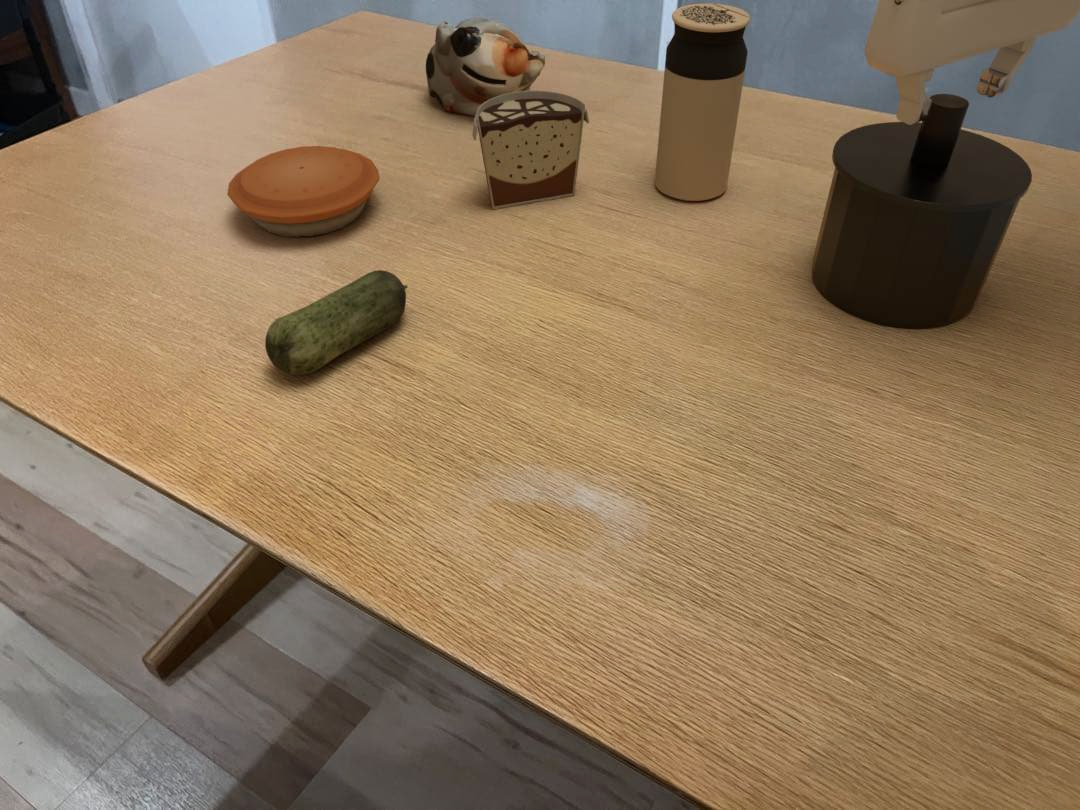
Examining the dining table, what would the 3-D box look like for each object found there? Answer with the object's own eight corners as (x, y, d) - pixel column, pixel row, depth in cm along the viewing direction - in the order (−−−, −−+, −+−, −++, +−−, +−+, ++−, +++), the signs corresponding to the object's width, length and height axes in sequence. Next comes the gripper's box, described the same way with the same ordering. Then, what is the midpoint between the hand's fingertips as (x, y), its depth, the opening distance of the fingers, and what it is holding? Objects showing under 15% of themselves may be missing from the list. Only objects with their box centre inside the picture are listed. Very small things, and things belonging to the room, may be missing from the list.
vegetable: (298, 396, 66) (284, 347, 62) (260, 369, 68) (245, 320, 65) (427, 318, 73) (421, 271, 70) (389, 296, 76) (382, 250, 73)
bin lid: (915, 121, 77) (935, 53, 73) (1067, 187, 67) (1101, 113, 63) (791, 160, 72) (806, 89, 68) (938, 238, 62) (966, 161, 57)
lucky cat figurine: (539, 81, 114) (562, 1, 102) (520, 148, 110) (542, 72, 97) (434, 47, 113) (445, -39, 100) (411, 113, 108) (419, 31, 95)
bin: (885, 227, 84) (919, 118, 76) (1010, 296, 75) (1063, 179, 67) (778, 268, 79) (802, 155, 71) (899, 348, 69) (942, 227, 62)
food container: (568, 169, 95) (569, 82, 88) (587, 193, 90) (589, 103, 84) (464, 186, 92) (457, 97, 85) (479, 211, 88) (473, 120, 81)
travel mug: (678, 209, 87) (698, 32, 75) (641, 178, 93) (654, 8, 81) (740, 194, 90) (769, 20, 78) (701, 164, 95) (722, -2, 83)
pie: (231, 257, 81) (217, 212, 78) (241, 186, 93) (229, 143, 89) (388, 239, 84) (381, 194, 80) (378, 171, 95) (372, 129, 92)
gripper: (949, -59, 51) (890, 153, 60) (1145, -104, 58) (1066, 91, 67) (870, -79, 55) (827, 123, 64) (1063, -118, 62) (999, 68, 71)
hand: (951, 106), depth 66 cm, fingers open, 8 cm apart
